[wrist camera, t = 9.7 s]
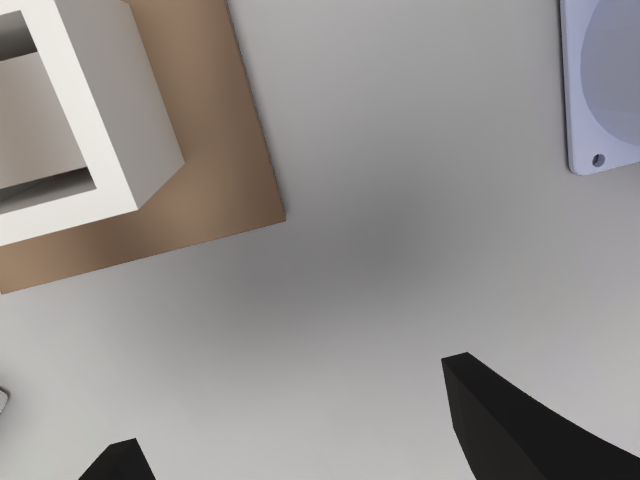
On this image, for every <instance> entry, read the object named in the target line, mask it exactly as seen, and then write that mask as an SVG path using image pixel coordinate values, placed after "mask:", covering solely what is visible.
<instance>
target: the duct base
mask: <svg viewBox="0 0 640 480" xmlns="http://www.w3.org/2000/svg"><path fill="white" fill-rule="evenodd" d="M121 1H123V2H125V3H127V4H129V6H130V8H131V11H132V14H133V17H134V20H135V23H136V25H137V28H138V31H139V34H140V37H141V40H142V43H143V45H144V48H145V51H146V54H147V57H148V60H149V62H150V65H151V68H152V71H153V74H154V77H155V79H156V82H157V85H158V88H159V91H160V94H161V96H162V99H163V102H164V105H165V108H166V111H167V114H168V116H169V119H170V122H171V125H172V128H173V131H174V133H175V136H176V139H177V142H178V145H179V148H180V150H181V153H182V156H183V159H184V162H185V164H184V165H183V166H182V167H181V168H180V169H179V170H178V171H177V172H176V173H175V174H174V175H173V176H172V177H171V178H170V179H169V180H168V181H167V182H166V183H165V184H164V185H163V186H162V187H161V188H160V189H159V190H158V191H157V192H156V193H155V194H154V195H153V196H152V197H151V198H150V199H149V200H148V201H146V202H145V203H144V204H143V205H142V206H141V207H140V208H139V209H138V210H135V211H132V212H128V213H124V214H120V215H116V216H113V217H109V218H105V219H101V220H98V221H94V222H90V223H86V224H82V225H79V226H75V227H71V228H67V229H64V230H60V231H56V232H52V233H48V234H45V235H41V236H37V237H33V238H30V239H26V240H22V241H18V242H14V243H11V244H7V245H3V246H0V292H1V294H6V293H10V292H14V291H18V290H22V289H25V288H29V287H33V286H37V285H41V284H45V283H49V282H53V281H56V280H60V279H64V278H68V277H72V276H76V275H80V274H83V273H87V272H91V271H95V270H99V269H103V268H107V267H110V266H114V265H118V264H122V263H126V262H130V261H134V260H137V259H141V258H145V257H149V256H153V255H157V254H161V253H164V252H168V251H172V250H176V249H180V248H184V247H188V246H191V245H195V244H199V243H203V242H207V241H211V240H215V239H218V238H222V237H226V236H230V235H234V234H238V233H242V232H245V231H249V230H253V229H257V228H261V227H265V226H269V225H273V224H276V223H280V222H284V221H286V216H285V210H284V206H283V202H282V199H281V195H280V192H279V188H278V185H277V181H276V177H275V174H274V170H273V167H272V163H271V160H270V156H269V152H268V149H267V145H266V142H265V138H264V135H263V131H262V128H261V124H260V120H259V117H258V113H257V110H256V106H255V103H254V99H253V95H252V92H251V88H250V85H249V81H248V78H247V74H246V71H245V67H244V63H243V60H242V56H241V53H240V49H239V46H238V42H237V38H236V35H235V31H234V28H233V24H232V21H231V17H230V13H229V10H228V6H227V3H226V0H121ZM86 168H88V167H87V164H86V162H85V160H84V157H83V155H82V153H81V150H80V148H79V146H78V143H77V141H76V139H75V136H74V134H73V132H72V129H71V127H70V125H69V122H68V120H67V118H66V115H65V113H64V111H63V108H62V106H61V104H60V101H59V99H58V97H57V94H56V92H55V90H54V87H53V85H52V83H51V80H50V78H49V76H48V73H47V71H46V69H45V66H44V64H43V62H42V59H41V57H40V55H39V52H35V53H31V54H27V55H23V56H19V57H15V58H11V59H8V60H4V61H0V189H2V188H6V187H10V186H13V185H17V184H21V183H25V182H29V181H33V180H37V179H40V178H44V177H48V176H52V175H53V177H55V176H59V175H63V174H67V173H71V172H74V171H78V170H82V169H86Z"/></svg>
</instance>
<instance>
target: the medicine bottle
mask: <svg viewBox="0 0 640 480" xmlns="http://www.w3.org/2000/svg"><path fill="white" fill-rule="evenodd" d="M7 399H8V397H7V395H6V394H5V393H4V392H2V391H0V413H1V411H2V410H3V408H4V406H5V405H6V402H7Z"/></svg>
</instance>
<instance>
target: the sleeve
mask: <svg viewBox="0 0 640 480" xmlns="http://www.w3.org/2000/svg"><path fill="white" fill-rule="evenodd" d="M35 52H39V55H40V57H41V59H42V62H43V64H44V66H45V69H46V71H47V73H48V76H49V78H50V80H51V83H52V85H53V87H54V90H55V92H56V94H57V97H58V99H59V101H60V104H61V106H62V108H63V111H64V113H65V115H66V118H67V120H68V122H69V125H70V127H71V129H72V132H73V134H74V136H75V139H76V141H77V143H78V146H79V148H80V150H81V153H82V155H83V157H84V160H85V162H86V164H87V167H88V168H86V169H82V170H78V171H74V172H71V173H67V174H63V175H59V176H55V177H53V175H52V176H48V177H44V178H40V179H37V180H33V181H29V182H25V183H21V184H17V185H13V186H10V187H6V188H2V189H0V246H3V245H7V244H11V243H14V242H18V241H22V240H26V239H30V238H33V237H37V236H41V235H45V234H48V233H52V232H56V231H60V230H64V229H67V228H71V227H75V226H79V225H82V224H86V223H90V222H94V221H98V220H101V219H105V218H109V217H113V216H116V215H120V214H124V213H128V212H132V211H135V210H138V209H139V208H140V207H141V206H142V205H143V204H144V203H145V202H146V201H148V200H149V199H150V198H151V197H152V196H153V195H154V194H155V193H156V192H157V191H158V190H159V189H160V188H161V187H162V186H163V185H164V184H165V183H166V182H167V181H168V180H169V179H170V178H171V177H172V176H173V175H174V174H175V173H176V172H177V171H178V170H179V169H180V168H181V167H182V166H183V165H184V164H185V162H184V159H183V156H182V153H181V150H180V148H179V145H178V142H177V139H176V136H175V133H174V131H173V128H172V125H171V122H170V119H169V116H168V114H167V111H166V108H165V105H164V102H163V99H162V96H161V94H160V91H159V88H158V85H157V82H156V79H155V77H154V74H153V71H152V68H151V65H150V62H149V60H148V57H147V54H146V51H145V48H144V45H143V43H142V40H141V37H140V34H139V31H138V28H137V25H136V23H135V20H134V17H133V14H132V11H131V8H130V6H129V4H127V3H125V2H123V1H121V0H0V61H4V60H8V59H11V58H15V57H19V56H23V55H27V54H31V53H35Z"/></svg>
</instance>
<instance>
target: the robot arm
mask: <svg viewBox="0 0 640 480" xmlns="http://www.w3.org/2000/svg"><path fill="white" fill-rule="evenodd" d="M560 10H561V28H562V47H563V65H564V84H565V102H566V120H567V139H568V157H569V167H570V170H571V171H572V172H573V173H575V174H577V175H580V176H586V175H590V174H594V173H598V172H602V171H606V170H609V169H613V168H617V167H621V166H625V165H629V164H633V163H636V162H640V0H560ZM597 154H598V156H599V158H598V161H597V162H596V164H594V165H593V164H592V160H593V158H594V156H595V155H597ZM441 361H442V367H443V372H444V378H445V383H446V389H447V395H448V400H449V406H450V412H451V417H452V423H453V428H454V431H455V433H456V435H457V438H458V440H459V443H460V445H461V447H462V450H463V452H464V454H465V457H466V459H467V461H468V464H469V466H470V468H471V470H472V472H473V474H474V476H475V478H476V480H640V458H639V457H637V456H635V455H633V454H631V453H629V452H627V451H625V450H623V449H621V448H619V447H617V446H614V445H612V444H610V443H608V442H606V441H604V440H602V439H601V438H599V437H597V436H595V435H593V434H591V433H590V432H588V431H586V430H584V429H583V428H581V427H579V426H577V425H576V424H574V423H572V422H571V421H569V420H567V419H565V418H564V417H562V416H560V415H559V414H557V413H556V412H554V411H552V410H551V409H549V408H547V407H546V406H544V405H543V404H541V403H540V402H538V401H537V400H535V399H534V398H532V397H531V396H529V395H528V394H526V393H524V392H523V391H521V390H520V389H519V388H517V387H516V386H514V385H513V384H511V383H510V382H508V381H507V380H506V379H504V378H503V377H501V376H500V375H499V374H497V373H496V372H494V371H493V370H492V369H490V368H489V367H488V366H486V365H485V364H483V363H482V362H481V361H479V360H478V359H477V358H475V357H474V356H473V355H471V354H469V353H468V352H465V353H461V354H458V355H454V356H450V357H446V358H442V359H441ZM78 480H156V479H155V477H154V475H153V473H152V471H151V469H150V467H149V464H148V462H147V460H146V458H145V456H144V454H143V452H142V450H141V448H140V446H139V444H138V442H137V440H136V438H134V439H130V440H126V441H122V442H118V443H114V444H111V445H109V446H108V447H107V448H106V449H105V450H104V451H103V452H102V453H101V454H100V456H99V457H98V458H97V459H96V460H95V461H94V462H93V463H92V464H91V466H90V467H89V468H88V469H87V470H86V471H85V472H84V474H83V475H82V476H81V477H80V478H79V479H78Z"/></svg>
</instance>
